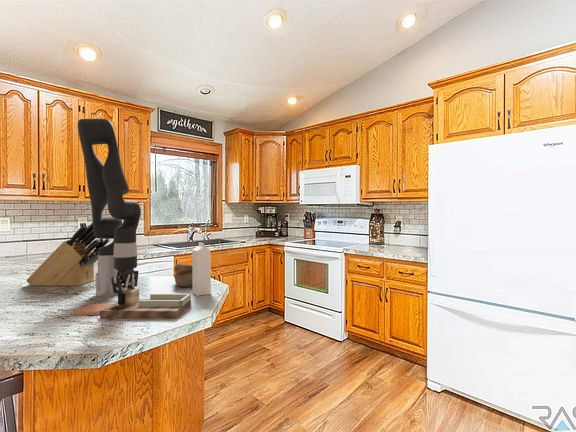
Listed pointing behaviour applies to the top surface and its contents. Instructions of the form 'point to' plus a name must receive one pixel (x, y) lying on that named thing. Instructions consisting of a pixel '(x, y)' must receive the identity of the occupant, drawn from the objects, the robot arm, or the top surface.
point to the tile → (91, 309)
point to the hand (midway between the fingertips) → (126, 301)
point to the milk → (201, 270)
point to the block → (131, 296)
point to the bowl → (183, 275)
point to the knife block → (70, 261)
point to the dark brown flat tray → (143, 311)
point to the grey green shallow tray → (165, 300)
